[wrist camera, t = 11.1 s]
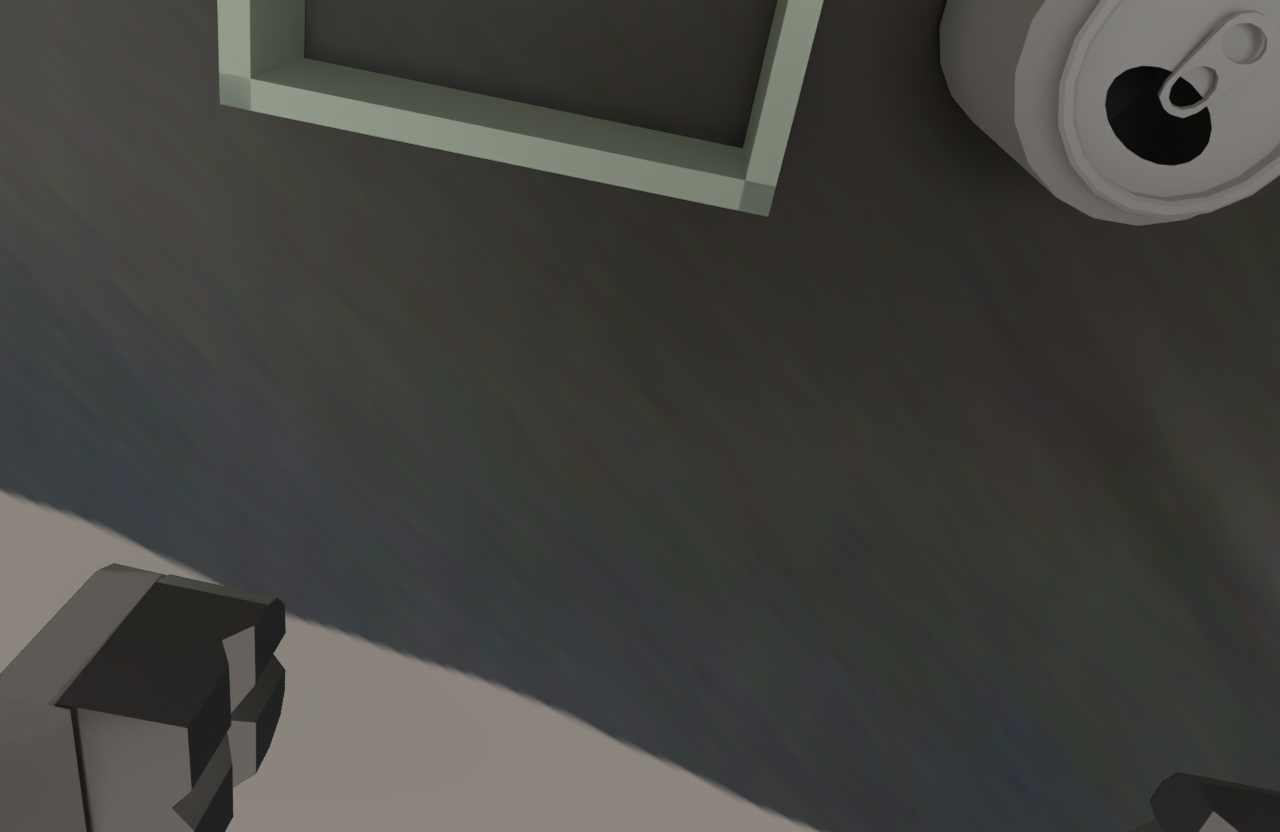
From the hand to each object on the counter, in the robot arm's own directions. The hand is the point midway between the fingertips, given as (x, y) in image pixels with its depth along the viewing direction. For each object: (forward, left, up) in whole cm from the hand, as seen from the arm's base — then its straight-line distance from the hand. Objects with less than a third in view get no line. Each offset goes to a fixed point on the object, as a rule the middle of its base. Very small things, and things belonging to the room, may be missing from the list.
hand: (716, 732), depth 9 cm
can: (-10, -5, -29) cm, 31 cm away
